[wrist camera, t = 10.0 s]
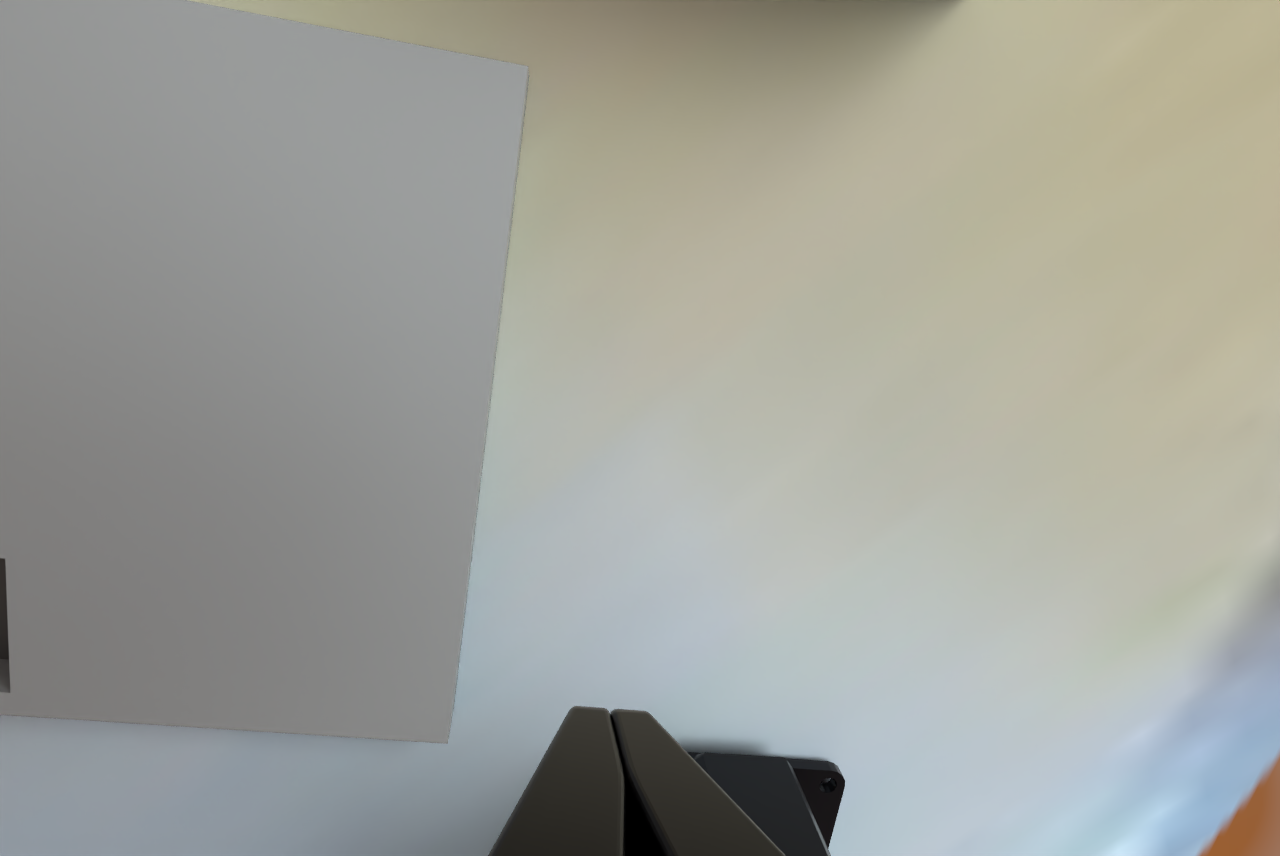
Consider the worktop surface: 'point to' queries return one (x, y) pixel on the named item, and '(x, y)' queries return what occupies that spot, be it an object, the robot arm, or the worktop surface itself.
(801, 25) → the worktop surface
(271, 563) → the trap runway
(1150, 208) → the worktop surface
